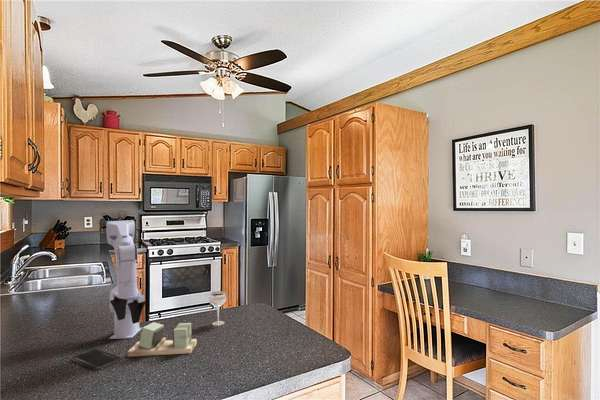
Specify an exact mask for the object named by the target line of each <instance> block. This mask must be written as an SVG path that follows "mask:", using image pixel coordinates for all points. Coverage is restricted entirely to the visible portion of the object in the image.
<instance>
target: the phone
mask: <svg viewBox="0 0 600 400" xmlns="http://www.w3.org/2000/svg"><path fill="white" fill-rule="evenodd" d="M71 360H72V361H73V362H75V363H77V364H79V365H82V366H84V367H85V368H86V367H87V368H89V369H90V370H93V371H100V370H103V369H104V368H107V367H109V366H111V365H114V364H117V363H119V362H120V361H121V357H120V356H117V355H115V354H112V353H110V352H107V351H105V350H102V349H100V348H93V349H90V350H88V351H85V352H82V353H80V354H76V355H74V356H73V357H72V359H71ZM116 362H117V363H116ZM102 368H103V369H102Z"/></svg>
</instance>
